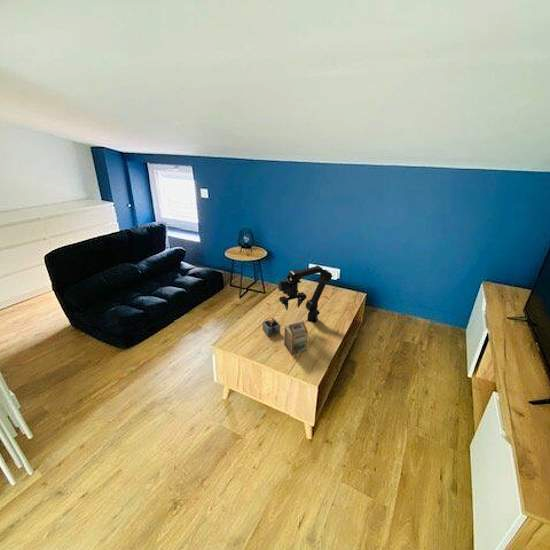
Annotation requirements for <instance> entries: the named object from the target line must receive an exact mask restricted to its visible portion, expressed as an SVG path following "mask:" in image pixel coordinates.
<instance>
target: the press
mask: <svg viewBox="0 0 550 550" xmlns="http://www.w3.org/2000/svg"><path fill="white" fill-rule="evenodd" d="M273 319H274V323H273V324H272V327H271V324H269V319H267V320H264V321H262V330H263V332H264V333H265V335H266V336H267V337H271V336H274V335H279V334H281V324H280V323H279V321H277V320H276V319H275V318H273Z"/></svg>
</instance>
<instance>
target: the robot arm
mask: <svg viewBox="0 0 550 550" xmlns="http://www.w3.org/2000/svg"><path fill="white" fill-rule="evenodd" d="M317 274H319V276H318V277H319V282H318V284H317V286H316V288H315V290H314V292H313V295H312V296H311V299H307V294H306V293H305V292H303V291H301V292H299V290H298V288H299V284H300V283H302V281H301V280H302V279H303V278H305V277H308V276H311V275H312V276H313V275H317ZM332 279H333V274H332V272H329V270H327V269H323V268H322V267H321V266H319V265H315V266H312V267H308V268H305V269H292V270H290V271H289V272H288V274H287V276H286V278H284V280H281V281H279V283H278V284H277V287H278V291H279V292H282V294H283V296H280V297H279V298H278V299H279V300H278V302H280V303H281V304H282V305H284V307H285V310H286V311H288V310H289V301H292V300H296V299H297V308H300V306H301V304H302V303H303V301H305V300H306V299H307V301H306V303H305V308H306V310H307V311H308V313H307V322H311V323H317V321H318V319H319V317H318V316H319V315H320V311H319V310H318V308H319V305H318V304H319V300H320V298H321V296H322V293H323V291H324V289H325V287H326V285H327V284H328V283H329V282H331V280H332ZM284 295H287V297H286V296H284Z"/></svg>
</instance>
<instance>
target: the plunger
mask: <svg viewBox="0 0 550 550" xmlns="http://www.w3.org/2000/svg"><path fill="white" fill-rule="evenodd" d="M274 319H275V318H273V317H269V318H268V320H269V324H271V327H272V324H273V323H274Z"/></svg>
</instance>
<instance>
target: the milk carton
mask: <svg viewBox="0 0 550 550" xmlns="http://www.w3.org/2000/svg"><path fill="white" fill-rule="evenodd" d="M283 335H284V337H283V338H284V339H283V341H284V342H283V343H284V344H283V346H284V347H285V349H286V350H287V351H288V352H289V354H290V355H292V356H293V355H296V354H300V353H303V352H306V351H307V350H308V335H309V332H308V328H307V326H306V324H305V321H304V320H301V321H297V322H292V323H289V324H288V325H286V326H284V334H283Z"/></svg>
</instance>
